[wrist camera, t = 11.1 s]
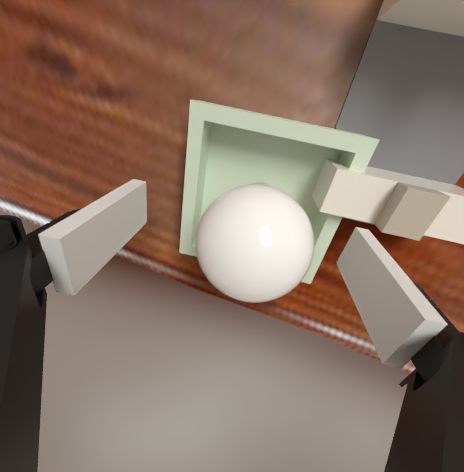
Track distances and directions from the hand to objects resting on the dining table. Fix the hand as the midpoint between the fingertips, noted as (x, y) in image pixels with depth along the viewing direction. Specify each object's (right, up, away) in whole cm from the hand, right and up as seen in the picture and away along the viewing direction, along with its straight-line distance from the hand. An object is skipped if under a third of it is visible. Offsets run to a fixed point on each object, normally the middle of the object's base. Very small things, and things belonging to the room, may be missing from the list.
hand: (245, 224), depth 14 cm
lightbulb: (+1, +3, +6) cm, 6 cm away
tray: (+2, +3, +6) cm, 7 cm away
